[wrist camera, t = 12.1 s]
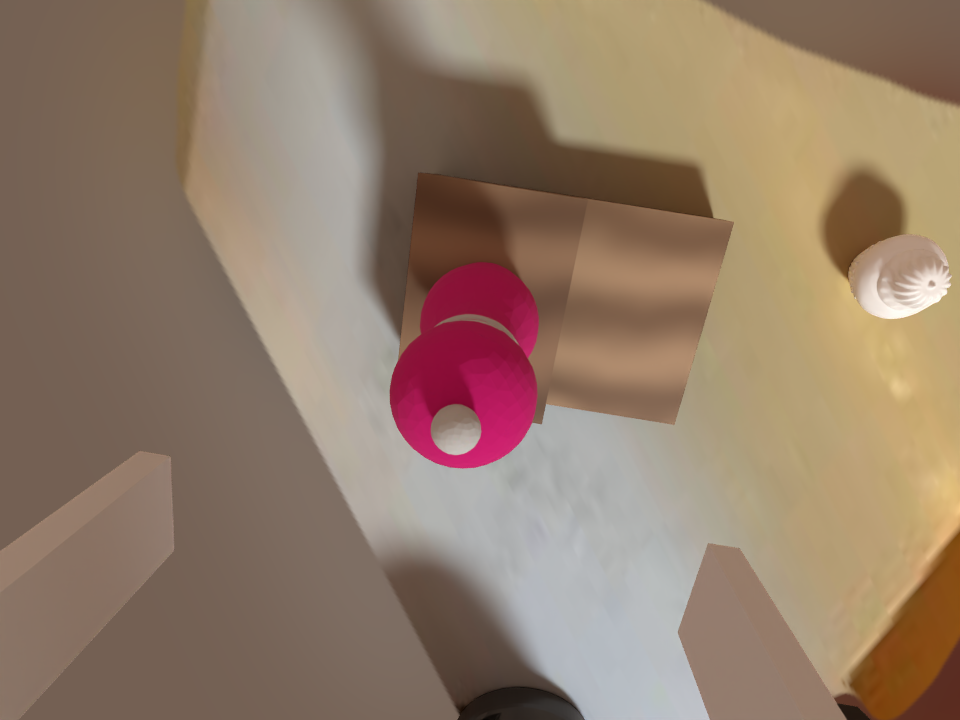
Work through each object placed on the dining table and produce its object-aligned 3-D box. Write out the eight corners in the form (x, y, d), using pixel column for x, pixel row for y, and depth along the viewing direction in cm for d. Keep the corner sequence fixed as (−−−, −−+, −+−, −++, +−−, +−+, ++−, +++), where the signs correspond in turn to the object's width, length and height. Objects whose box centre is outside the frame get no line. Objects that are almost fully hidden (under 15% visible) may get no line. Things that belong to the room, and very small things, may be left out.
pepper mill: (409, 295, 37) (303, 416, 18) (495, 232, 35) (476, 292, 16) (472, 376, 39) (434, 564, 20) (556, 319, 37) (603, 465, 18)
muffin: (815, 298, 43) (870, 320, 37) (847, 222, 41) (911, 230, 35) (889, 315, 44) (957, 339, 37) (925, 239, 42) (1004, 250, 35)
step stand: (661, 404, 47) (689, 448, 39) (413, 365, 47) (393, 400, 40) (714, 218, 42) (758, 226, 34) (435, 173, 42) (418, 172, 34)
